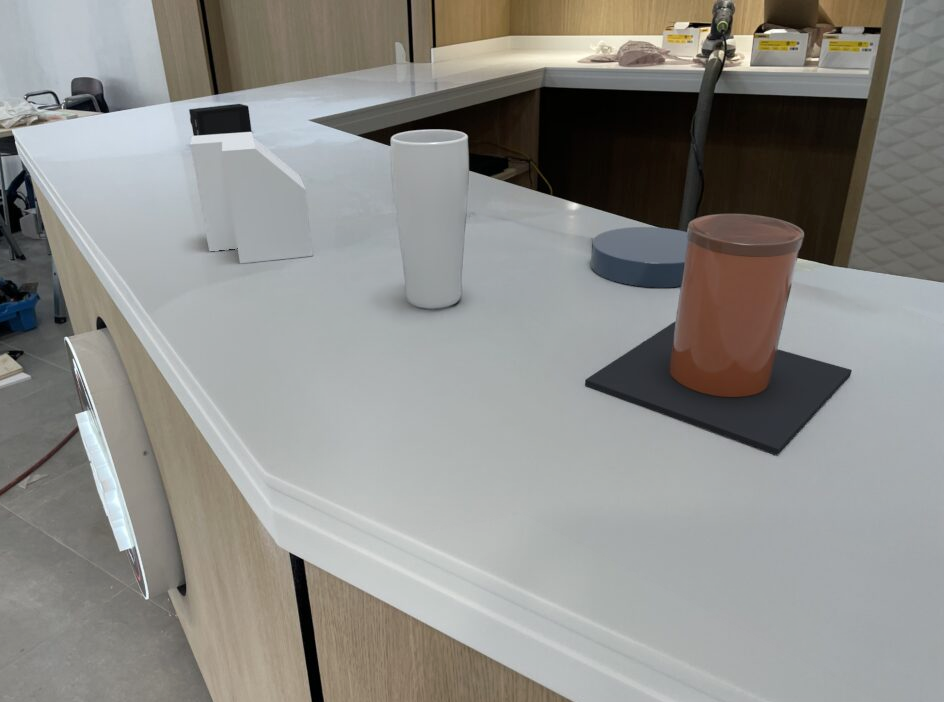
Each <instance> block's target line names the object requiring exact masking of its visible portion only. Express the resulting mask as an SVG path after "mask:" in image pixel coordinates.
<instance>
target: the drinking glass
mask: <svg viewBox="0 0 944 702" xmlns="http://www.w3.org/2000/svg"><path fill="white" fill-rule="evenodd" d="M469 150H470V149H469V135H468V134H466V133H465V132H463V131H458V130H453V129H416V130H415V129H414V130H408V131H403V132H398V133H396V134H395V133H394V134H393V135H392V136H390V175H391V186H392V194H393V195H392V196H393V203H394V209H395V210H394V211H395V217H396V225H397V232H398V239H399V246H400V254H401V263H402V269H403V278H404V294H405V295H404V296H405V299H406V300H407V302H408V303H409V304H410V305H413V306H415V307H417V308H421V309H427V310H430V309H431V310H436V309H444V308H448V307H452V306H453V305H455V304H456V303H458V302H459V301H460V300H461V299H462V295H463V268H464V267H463V266H464V254H465V253H464V252H465V240H466V239H465V238H466V227H467V226H466V225H467V217H468V216H467V215H468V203H469V189H470V188H469V187H470V153H469V152H470V151H469Z"/></svg>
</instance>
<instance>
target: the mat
mask: <svg viewBox="0 0 944 702" xmlns="http://www.w3.org/2000/svg"><path fill="white" fill-rule="evenodd" d="M675 323H676V320H675V321H673V322H672V323H670V324H669V325H667V326H666V327H664V328H663V329H661V330H659V331H658V332H657V333H655V334H653V335H652V336H650V337H649V338H648V339H646V340H644V341H642V342H641V343H639V344H637V345H636V346H635V347H633V348H632V349H630V350H629V351H627V352H626V353H624V354H622V355H620V356H619V357H617V358H616V359H614V360H613V361H612V362H610V363H609V364H607V365H606V366H604V367H602V368H600V370H598V371H597V372H594V373H593V374H591V375H590V376H589V377H587V378H586V379H585V380H584V385H585V387H589V388H592V389H594V390H597V391H600V392H602V393H605V394H608V395H611V396H612V397H613V396H614V397H616V398H619V399H622V400H624V401H627V402H630V403H632V404H635V405H638V406H641V407H643V408H647V409H649V410H652V411H655V412H657V413H660V414H663V415H665V416H668V417H670V418H674V419H676V420H679V421H681V422H684V423H688V424H690V425H693V426H696V427H698V428H701V429H704V430H707V431H709V432H711V433H715V434H717V435H720V436H723V437H726V438H729V439H731V440H733V441H736V442H739V443H742V444H744V445H747V446H750V447H753V448H755V449H758V450H761V451H763V452H767V453H769V454H771V455H774V456H778V455H779V454H780V453H781V452H782V451H783V450H784V449H785V448H786V446H787V445H788V444H790V442H791V441H792V440H793V439H794V438H795V437H796V436H797V434H798V433H799V432H800V431H801V430H802V429H803V428H804V427H805V426H806V425H807V423H808V422H809V421H810V420H811V419H812V418H813V417H814V416H815V415H816V414H817V413H818V411H820V409H821V408H822V407H823V406H824V405H825V404H826V403H827V402H828V401H829V400H830V399H831V397H832V396H833V395H834V394H835V393H836V392H837V391H838V389H840V388H841V387H842V385H843V384H844V383H845V382H846V381H847V380H848V379H849V378H850V377H851V374H852V369H850V368H848V367H847V368H846V367H844V366H839V365H835V364H832V363H829V362H825V361H822V360H818V359H814V358H810V357H807V356H803V355H800V354H797V353H793V352H789V351H785V350H782V349H778V348H777V353H776V357H775V362H774V366H773V371H772V375H771V380H770V384H769V386H768V387H767V388H766V389H765V390H764V391H762V392H760V393H758V394H755V395H751V396H746V397H719V396H713V395H708V394H703V393H700V392H697V391H694V390H691V389H689V388H687V387H685V386H683V385H681V384H680V383H678V382H677V381H676V380H675V379H674V378H673V377H672V376H671V374H670V371H669V364H670V357H671V350H672V343H673V336H674V330H675Z"/></svg>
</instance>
